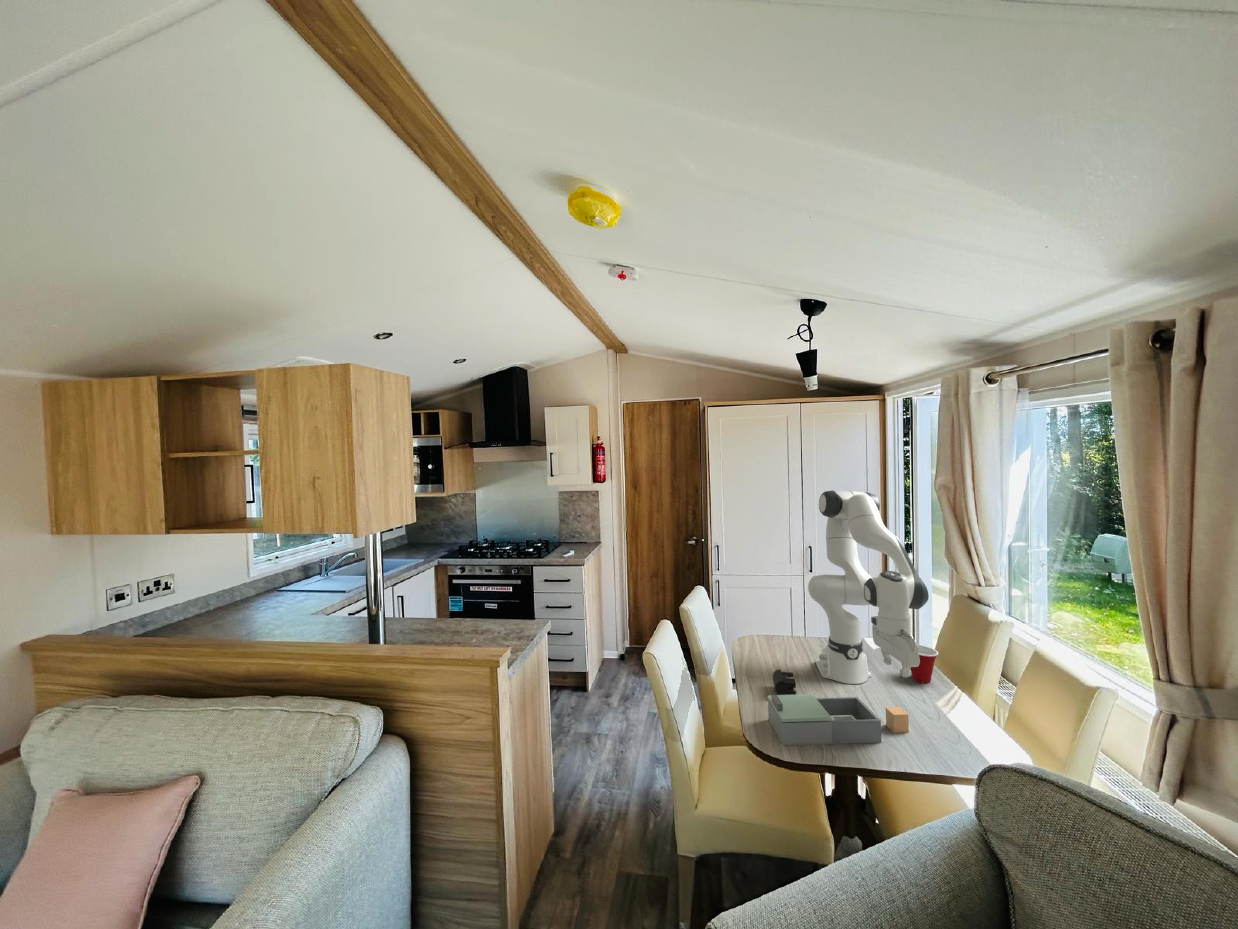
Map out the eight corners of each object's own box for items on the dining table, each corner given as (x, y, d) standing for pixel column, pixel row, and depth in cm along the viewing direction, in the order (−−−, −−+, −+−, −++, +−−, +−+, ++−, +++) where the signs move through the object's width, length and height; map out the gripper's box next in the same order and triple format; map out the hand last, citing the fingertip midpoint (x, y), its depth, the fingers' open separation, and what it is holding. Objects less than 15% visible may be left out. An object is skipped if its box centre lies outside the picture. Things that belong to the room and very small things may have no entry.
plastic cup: (942, 688, 178) (941, 655, 178) (908, 684, 182) (907, 652, 182) (935, 675, 188) (934, 644, 188) (903, 672, 192) (902, 641, 192)
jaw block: (886, 724, 156) (885, 707, 156) (900, 724, 156) (900, 707, 156) (894, 732, 151) (893, 714, 151) (908, 732, 151) (908, 714, 151)
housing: (768, 719, 161) (767, 699, 161) (858, 716, 161) (857, 697, 161) (782, 745, 146) (782, 723, 146) (881, 742, 146) (880, 720, 146)
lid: (767, 698, 161) (767, 688, 161) (812, 697, 161) (812, 687, 161) (782, 722, 146) (781, 711, 146) (831, 720, 146) (831, 710, 146)
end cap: (772, 686, 184) (772, 668, 184) (792, 687, 183) (792, 669, 183) (775, 699, 175) (774, 680, 175) (796, 700, 173) (795, 681, 173)
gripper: (924, 636, 143) (926, 684, 143) (887, 615, 163) (888, 657, 163) (903, 637, 143) (904, 684, 143) (868, 615, 163) (869, 657, 163)
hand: (895, 669), depth 153 cm, fingers open, 8 cm apart
